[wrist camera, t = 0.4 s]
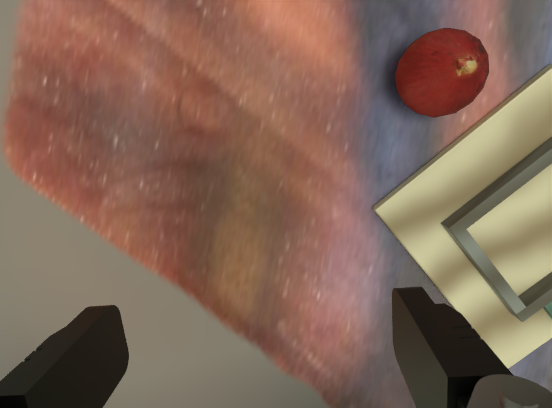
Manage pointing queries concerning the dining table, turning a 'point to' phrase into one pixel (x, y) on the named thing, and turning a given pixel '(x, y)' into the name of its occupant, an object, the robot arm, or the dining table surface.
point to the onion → (442, 72)
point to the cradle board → (488, 221)
